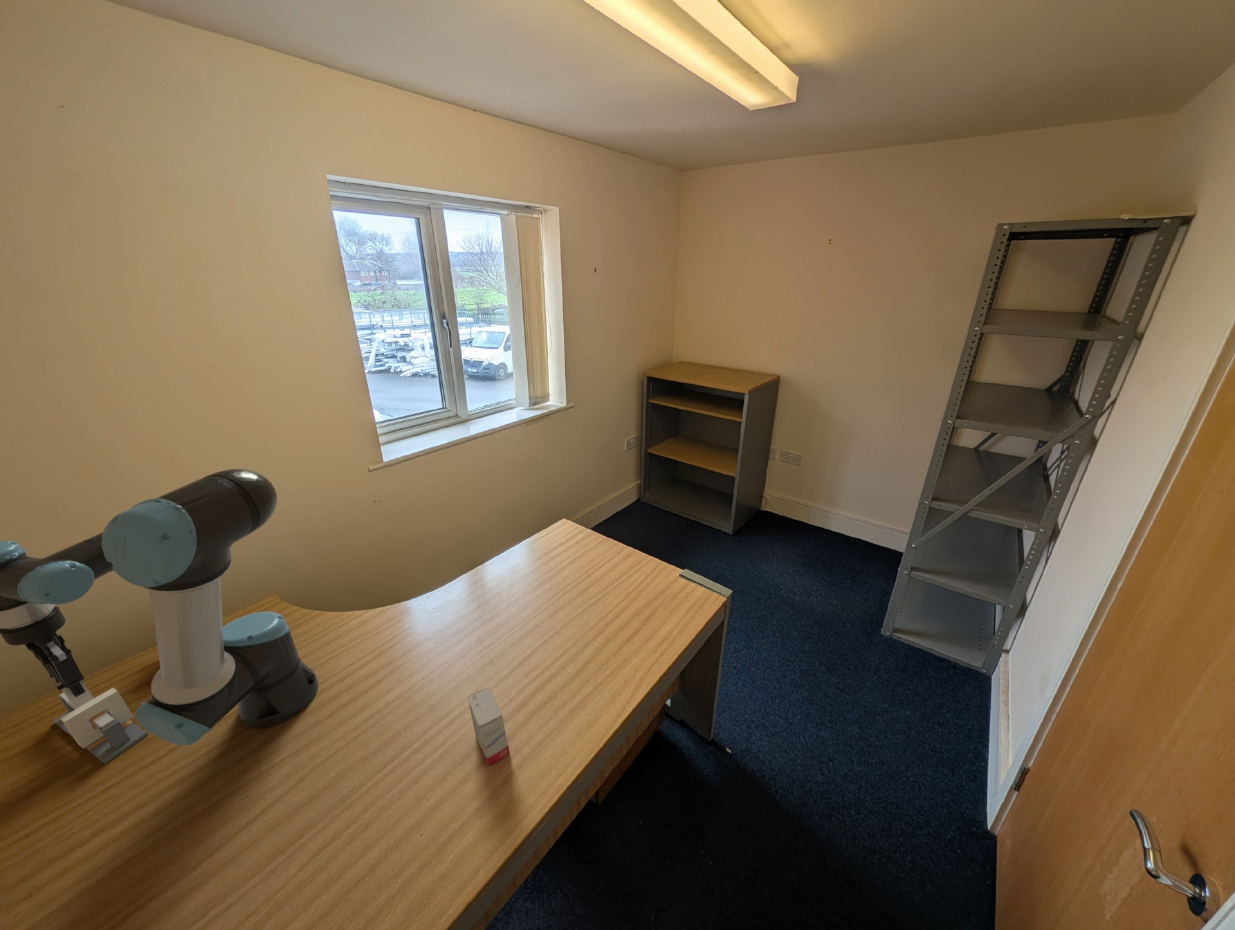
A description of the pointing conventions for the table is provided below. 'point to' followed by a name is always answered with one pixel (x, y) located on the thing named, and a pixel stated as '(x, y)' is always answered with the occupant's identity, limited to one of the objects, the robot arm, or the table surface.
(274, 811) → the table surface
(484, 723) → the ink box
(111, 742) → the grey slide rail
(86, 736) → the thick cream end plate
